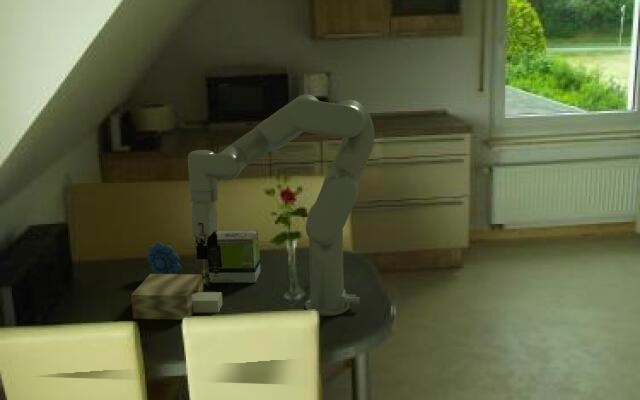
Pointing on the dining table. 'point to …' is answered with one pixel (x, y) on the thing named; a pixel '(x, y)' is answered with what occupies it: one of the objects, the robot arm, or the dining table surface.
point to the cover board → (207, 301)
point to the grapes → (163, 259)
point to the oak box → (166, 296)
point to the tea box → (235, 257)
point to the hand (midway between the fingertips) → (207, 253)
